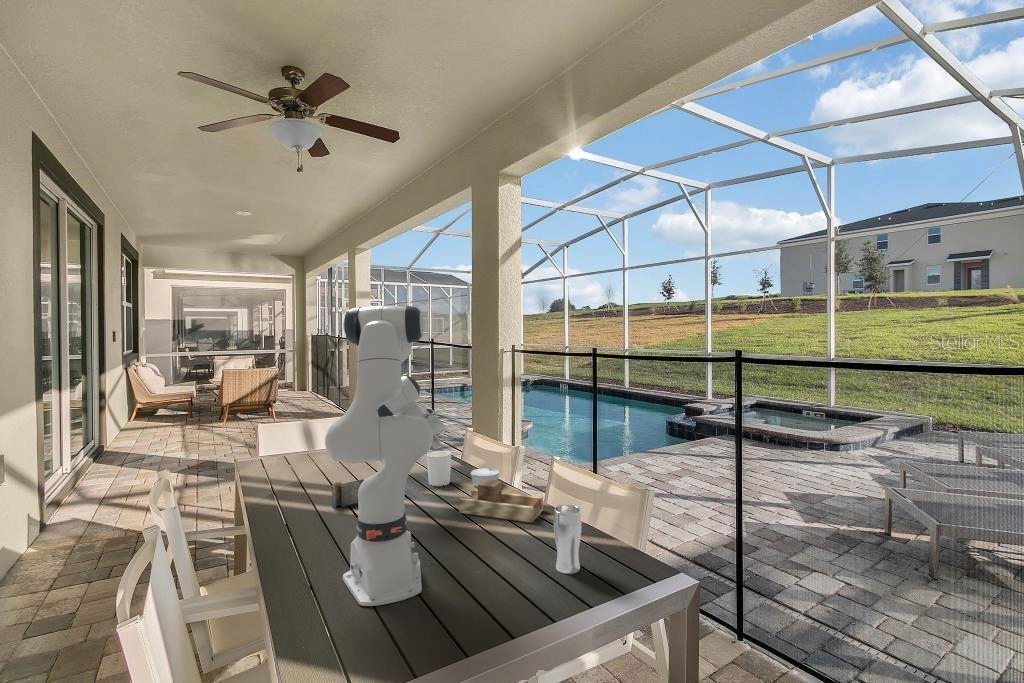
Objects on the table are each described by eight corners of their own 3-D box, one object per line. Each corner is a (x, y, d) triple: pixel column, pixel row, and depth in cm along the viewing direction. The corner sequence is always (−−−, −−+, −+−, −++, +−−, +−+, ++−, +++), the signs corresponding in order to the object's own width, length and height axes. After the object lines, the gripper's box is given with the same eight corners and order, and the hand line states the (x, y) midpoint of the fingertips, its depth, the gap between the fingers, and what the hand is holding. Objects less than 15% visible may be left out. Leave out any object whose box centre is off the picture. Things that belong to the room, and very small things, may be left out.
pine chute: (458, 512, 159) (458, 499, 159) (473, 501, 170) (473, 489, 169) (532, 522, 150) (532, 508, 150) (543, 510, 160) (542, 497, 160)
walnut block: (478, 508, 159) (477, 484, 159) (485, 502, 165) (485, 479, 165) (494, 510, 157) (494, 486, 157) (501, 504, 163) (501, 481, 163)
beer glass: (574, 577, 115) (574, 516, 115) (549, 570, 119) (548, 510, 119) (586, 565, 121) (585, 507, 121) (561, 559, 125) (560, 502, 125)
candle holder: (456, 481, 193) (456, 452, 193) (440, 488, 185) (440, 457, 185) (438, 478, 198) (437, 449, 198) (421, 484, 190) (421, 454, 190)
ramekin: (505, 484, 189) (505, 471, 189) (484, 491, 181) (484, 477, 181) (485, 479, 197) (485, 466, 197) (465, 485, 189) (465, 472, 189)
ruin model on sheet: (335, 510, 164) (335, 482, 164) (332, 507, 166) (331, 480, 166) (366, 502, 172) (366, 475, 172) (363, 500, 174) (362, 473, 174)
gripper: (403, 417, 161) (428, 448, 158) (434, 408, 180) (457, 436, 177) (392, 430, 163) (417, 461, 159) (424, 419, 182) (447, 447, 178)
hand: (438, 447), depth 168 cm, fingers closed
